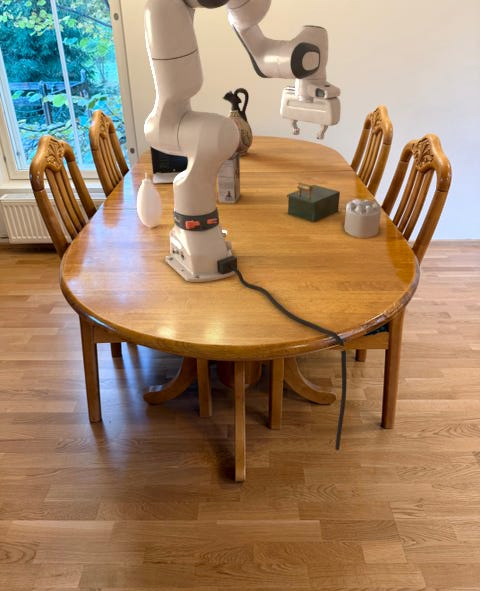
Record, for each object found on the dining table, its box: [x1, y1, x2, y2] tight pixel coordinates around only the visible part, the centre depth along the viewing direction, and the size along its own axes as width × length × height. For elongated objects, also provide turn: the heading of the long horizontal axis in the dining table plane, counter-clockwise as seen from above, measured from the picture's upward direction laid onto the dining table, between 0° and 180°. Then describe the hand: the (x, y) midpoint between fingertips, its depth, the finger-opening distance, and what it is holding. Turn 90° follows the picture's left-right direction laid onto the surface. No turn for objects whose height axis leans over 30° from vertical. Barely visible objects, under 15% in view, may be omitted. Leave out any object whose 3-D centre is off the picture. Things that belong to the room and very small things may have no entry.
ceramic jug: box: [221, 87, 254, 157], centre depth 229 cm, size 17×15×30 cm
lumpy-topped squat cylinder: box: [343, 198, 382, 239], centre depth 151 cm, size 10×13×9 cm
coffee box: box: [217, 152, 241, 204], centre depth 176 cm, size 9×6×16 cm
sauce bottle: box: [136, 171, 163, 229], centre depth 153 cm, size 8×8×18 cm
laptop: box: [149, 145, 188, 185], centre depth 199 cm, size 18×12×13 cm
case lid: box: [286, 182, 341, 204], centre depth 162 cm, size 14×11×5 cm
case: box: [287, 193, 341, 223], centre depth 165 cm, size 14×11×6 cm
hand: (307, 136), depth 150 cm, fingers open, 8 cm apart
